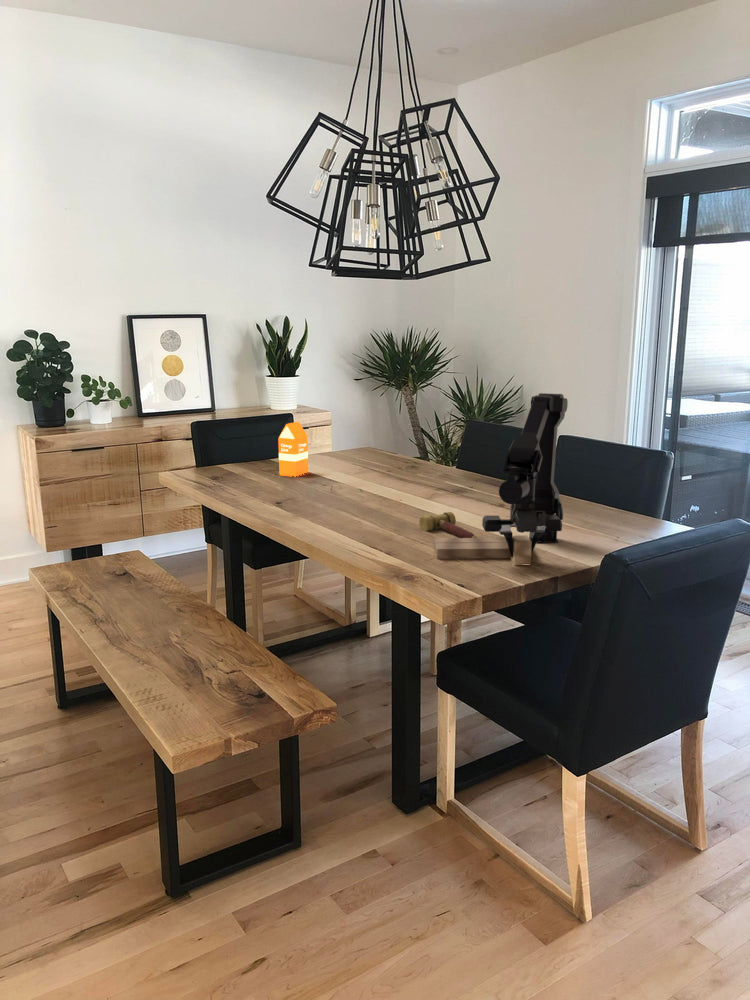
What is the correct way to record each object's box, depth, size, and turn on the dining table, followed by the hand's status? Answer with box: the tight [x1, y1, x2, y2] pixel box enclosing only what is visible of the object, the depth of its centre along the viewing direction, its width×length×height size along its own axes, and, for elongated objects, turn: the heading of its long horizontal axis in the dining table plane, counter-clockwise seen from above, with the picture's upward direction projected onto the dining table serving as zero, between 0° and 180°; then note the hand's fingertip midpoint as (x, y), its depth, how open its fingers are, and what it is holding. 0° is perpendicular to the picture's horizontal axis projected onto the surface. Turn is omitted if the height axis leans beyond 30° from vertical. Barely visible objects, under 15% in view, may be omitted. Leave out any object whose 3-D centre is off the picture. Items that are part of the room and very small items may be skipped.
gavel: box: [418, 511, 477, 538], centre depth 227 cm, size 21×5×10 cm
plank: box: [433, 537, 533, 560], centre depth 210 cm, size 24×10×2 cm, turn 90°
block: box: [509, 534, 532, 566], centre depth 204 cm, size 4×12×6 cm, turn 0°
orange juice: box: [278, 421, 309, 478], centre depth 312 cm, size 8×9×20 cm
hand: (520, 556), depth 201 cm, fingers closed on block, 4 cm apart
